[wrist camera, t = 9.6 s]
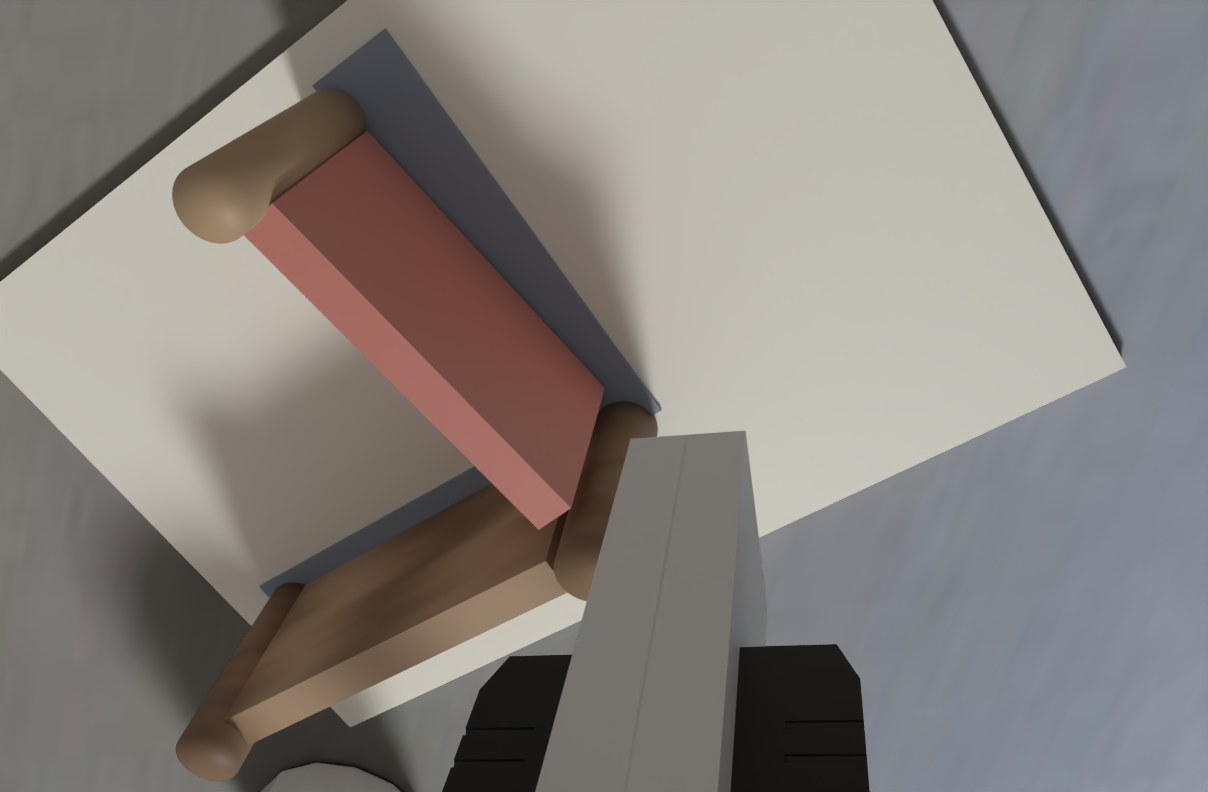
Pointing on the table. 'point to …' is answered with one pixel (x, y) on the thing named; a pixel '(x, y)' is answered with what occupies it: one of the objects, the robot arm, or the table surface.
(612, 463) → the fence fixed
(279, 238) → the fence gate
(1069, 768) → the table surface
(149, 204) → the board
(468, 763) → the robot arm
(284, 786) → the white cup
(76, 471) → the table surface
